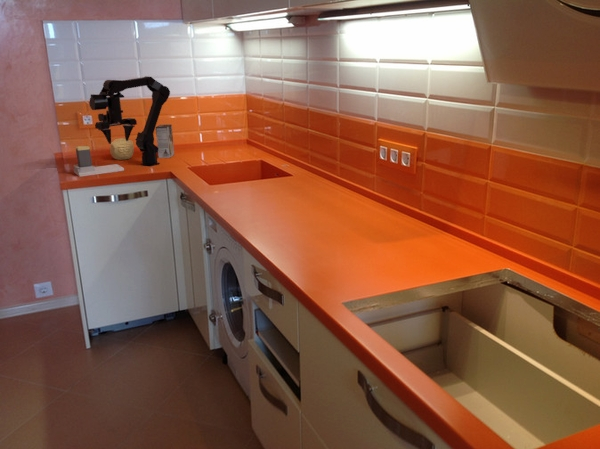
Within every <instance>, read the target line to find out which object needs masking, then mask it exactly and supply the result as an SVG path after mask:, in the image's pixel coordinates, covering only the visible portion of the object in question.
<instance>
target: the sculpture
mask: <svg viewBox="0 0 600 449" xmlns="http://www.w3.org/2000/svg"><path fill="white" fill-rule="evenodd" d="M109 150H110V151H109V152H110V155H111V157H112V158H113V159H115V160H118V161H124V160H130V159H131V158H132V157H133V155H134V151H135V148H134V141H133V140H130V139H128V141H126V139H125V137H124V138H122V137H121V138H120V137H119V138H115V139H114V140H113V141H111V144H110V148H109Z"/></svg>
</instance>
